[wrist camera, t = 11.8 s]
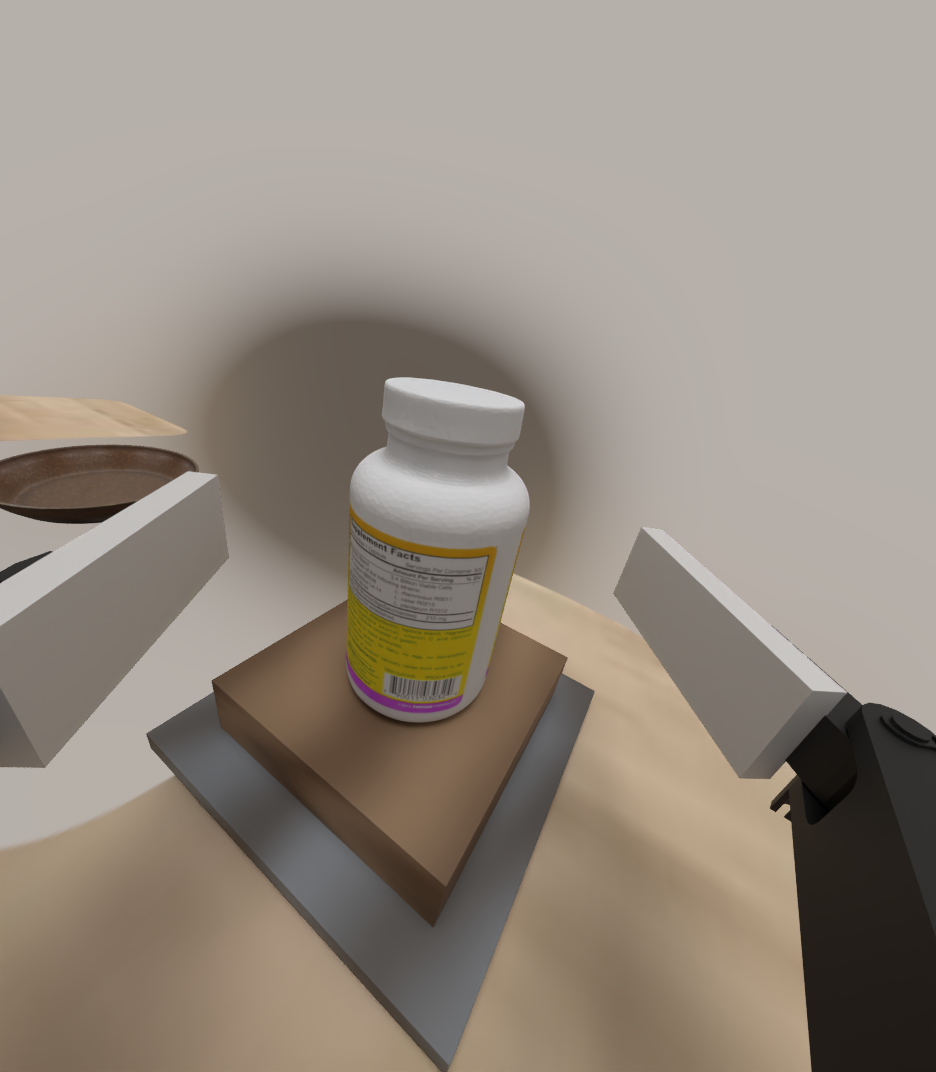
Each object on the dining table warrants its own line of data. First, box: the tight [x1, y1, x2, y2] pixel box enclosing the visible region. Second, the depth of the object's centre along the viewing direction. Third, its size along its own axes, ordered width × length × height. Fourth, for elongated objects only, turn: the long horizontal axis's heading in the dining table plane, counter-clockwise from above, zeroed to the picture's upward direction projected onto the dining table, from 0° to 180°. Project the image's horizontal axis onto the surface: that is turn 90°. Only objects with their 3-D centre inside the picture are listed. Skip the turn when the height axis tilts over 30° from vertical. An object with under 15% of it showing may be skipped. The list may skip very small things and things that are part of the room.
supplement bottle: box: [346, 378, 530, 722], centre depth 16 cm, size 7×7×13 cm
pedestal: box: [147, 600, 595, 1072], centre depth 20 cm, size 16×16×4 cm
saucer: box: [0, 445, 199, 524], centre depth 35 cm, size 15×15×3 cm
